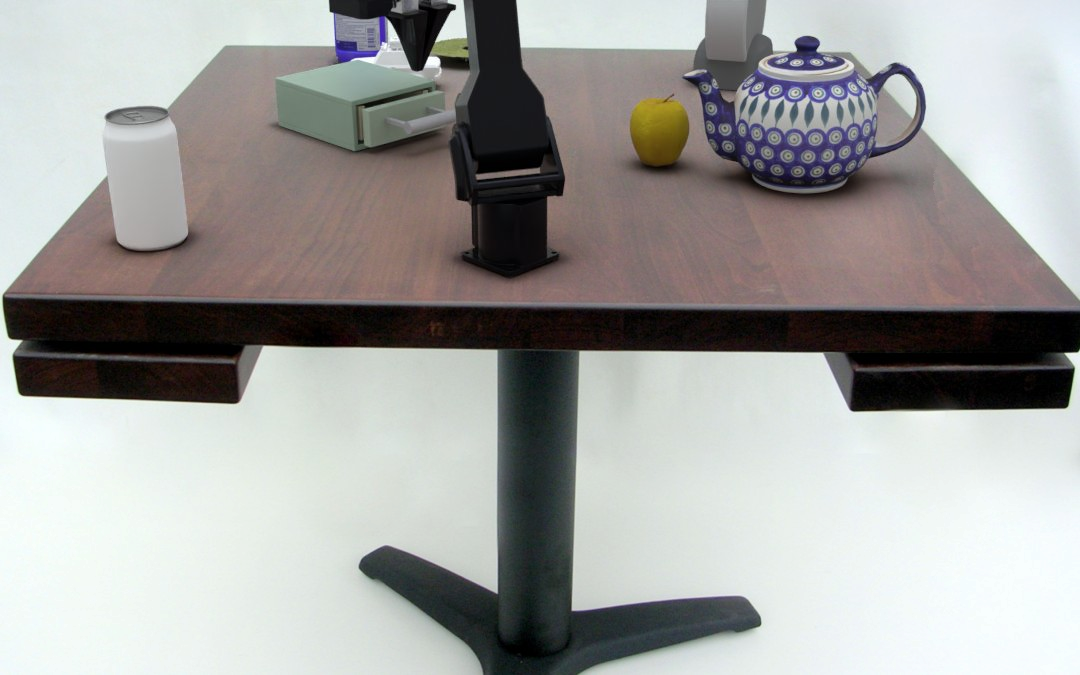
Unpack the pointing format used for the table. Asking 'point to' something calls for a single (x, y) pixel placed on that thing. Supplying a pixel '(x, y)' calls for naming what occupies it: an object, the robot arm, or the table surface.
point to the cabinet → (338, 98)
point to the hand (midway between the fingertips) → (417, 70)
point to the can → (144, 178)
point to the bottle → (359, 37)
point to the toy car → (402, 60)
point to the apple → (659, 130)
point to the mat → (452, 48)
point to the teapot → (802, 118)
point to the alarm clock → (733, 41)
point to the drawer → (402, 116)
